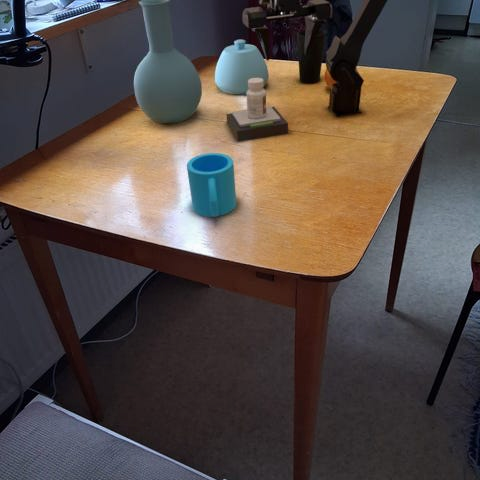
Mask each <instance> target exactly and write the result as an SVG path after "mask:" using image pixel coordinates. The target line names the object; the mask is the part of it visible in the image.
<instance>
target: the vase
mask: <svg viewBox="0 0 480 480" xmlns="http://www.w3.org/2000/svg"><path fill="white" fill-rule="evenodd" d="M170 3H171V0H140V1H138V4H139V5H140V6H141V8H142V13H143V19H144V25H145V30H146V36H147V41H148V45H149V50H148V53H147V54H146V56H144V57H143V59H142V60H141V61H140V63H139V64H138V65H137V67H136V70H135V72H134V77H133V89H134V96H135V99H136V103H137V104H138V106H139V108H140V110H141V111H142V112H143V113H144V114H145V115H146V116H147V118H149V119H151V120H153V121H154V122H156V123H159V124H160V123H161V124H174V123H175V124H176V123H180V122H183V121H186V120H187V119H189V118H191V117H192V116H193V115H194V114H195V112H196V111H197V109H198V107H199V105H200V103H201V101H202V96H203V86H202V80H201V77H200V74H199V73H198V70H197V68H196V67H195V65H194V64H193V62H192V61H191V60H190V59H189V58H187V56H185V55H184V54H182V53H181V52H179V51H178V50H177V48H175V45H174V38H173V37H174V36H173V29H172V20H171V18H172V17H171V13H170V12H171V11H170V7H169V6H170V5H169V4H170Z"/></svg>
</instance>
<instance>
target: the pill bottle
mask: <svg viewBox="0 0 480 480" xmlns="http://www.w3.org/2000/svg"><path fill="white" fill-rule="evenodd" d="M263 85H264V83H263V79H262V78H251V79H249V80H248V88H249V90H248V91H247V94H246V109H247V115H248V117H250V118H253V119H258V118H262V117H264V116H266V106H267V91H266V89H265V88H264V87H265V86H263Z"/></svg>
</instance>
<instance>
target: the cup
mask: <svg viewBox="0 0 480 480" xmlns="http://www.w3.org/2000/svg"><path fill="white" fill-rule="evenodd" d="M305 32H306V28H305V29H301V30H299V31H297V32H296V42H297V57H298V59H297V60H298V71H299V72H298V74H299V75H298V76H299V82H300V83H302V84H305V85H311V84H317V83H318V82H320V80H321V71H322V65H323V57H324V51H325V44H326V43H325V42H326V37H327V36H326V35H327V31H326V30H325V29H321V28H320V29H319V31H318V33H317V34H316V36H315V39H314V41H313V43H312V46H311V48H310V50H309V53H308V55H305V54H304V44H305Z"/></svg>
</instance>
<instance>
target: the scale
mask: <svg viewBox="0 0 480 480" xmlns="http://www.w3.org/2000/svg"><path fill="white" fill-rule="evenodd" d="M225 117H226V125H227V126H228V128H229V130H230V132H231V134H232V135H233V136H234V138H235V140H236V141H237V142H244V141H251V140H256V139H261V138H268V137H269V138H270V137H274V136H280V135H281V136H282V135H287V134H289V122H288V121H287V120H286V118H284V116H283V115H282V114H281V113H280V112H279V110H278V109H277V108H276V107H275V106H271V105H266V116H264V117H262V118H258V119H253V118H250V117H248V115H247V108H246V109H240V110H239V109H238V110H233V111H231V113H226V114H225Z"/></svg>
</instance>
